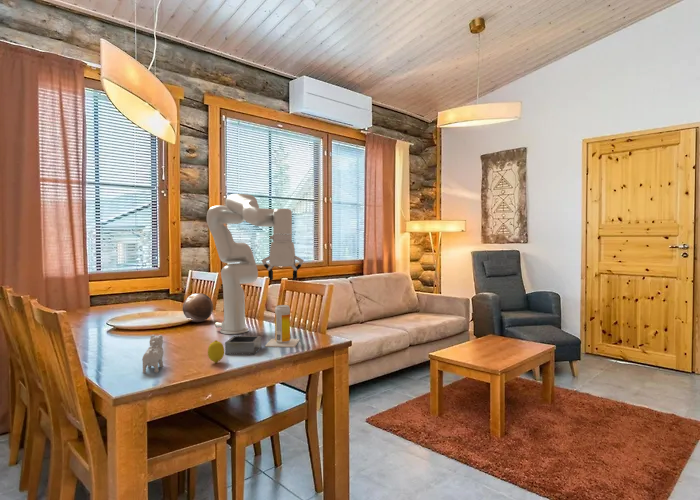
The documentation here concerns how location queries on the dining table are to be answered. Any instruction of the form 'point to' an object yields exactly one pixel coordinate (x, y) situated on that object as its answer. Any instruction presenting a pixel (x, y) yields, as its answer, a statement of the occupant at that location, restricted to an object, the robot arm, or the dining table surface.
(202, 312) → the wooden sphere
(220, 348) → the lemon
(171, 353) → the dining table surface
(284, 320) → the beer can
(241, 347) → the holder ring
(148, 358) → the white dog figurine
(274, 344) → the tile pad
